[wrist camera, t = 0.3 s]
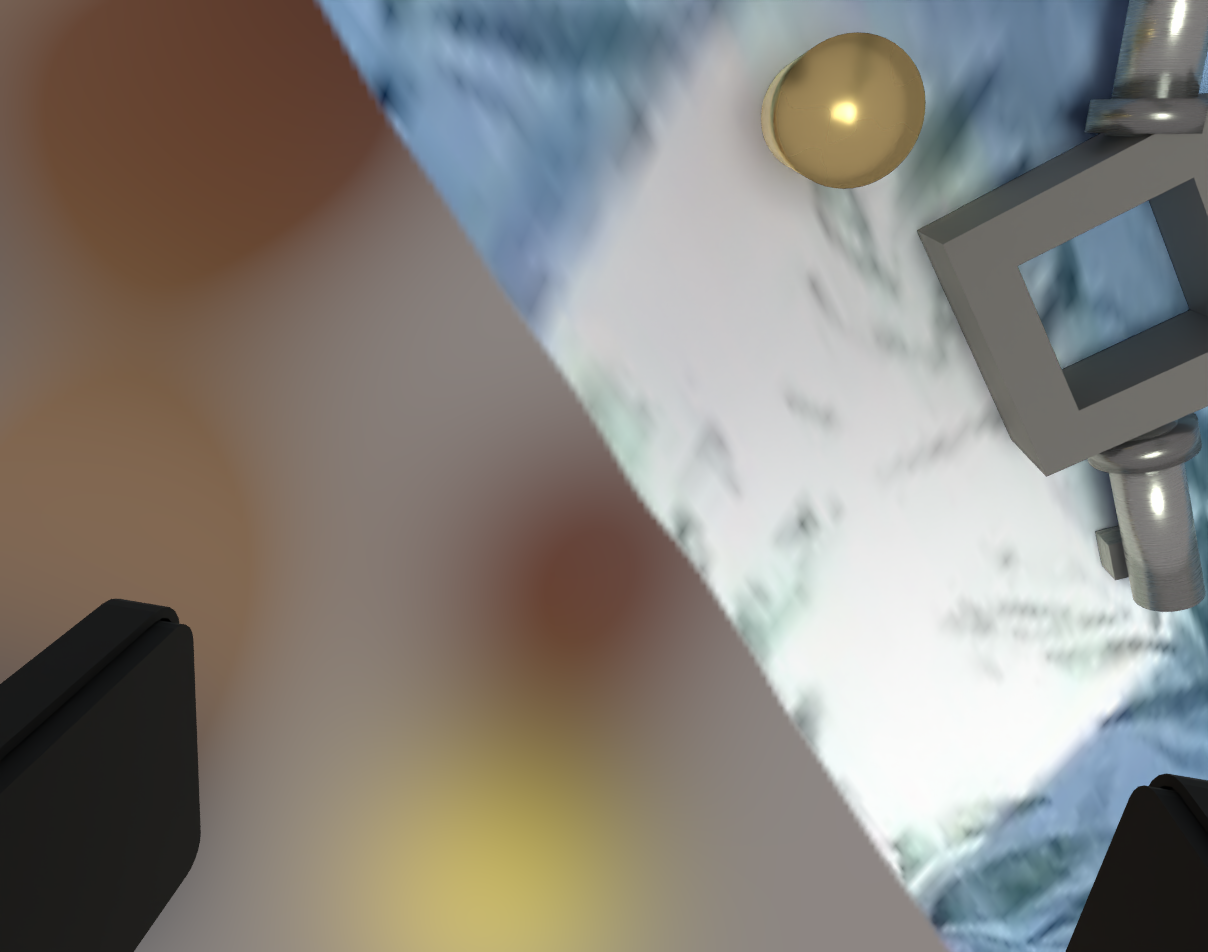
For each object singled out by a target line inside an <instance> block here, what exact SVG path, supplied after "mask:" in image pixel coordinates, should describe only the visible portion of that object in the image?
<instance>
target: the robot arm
mask: <svg viewBox="0 0 1208 952" xmlns="http://www.w3.org/2000/svg"><path fill="white" fill-rule="evenodd" d="M193 647H194V646H193V635H192V631H191V629H190V627H188V626H187V625H184V624H179V619H178V616H177V614H176V612H175V611H174V610H173V609H171V608H170V607H165V606H159V605H153V604H147V603H141V602H135V601H129V600H123V599H111V600H109V601H107V602H105V603H103V604H102V605H101V606H99V607H98V608H97V609H96V610H94V611H93V612H92V613H90V614H89V615H88V616H87V617H85V618H84V619H83V620H82V621H80V622H79V623H78V624H76V625H75V626H74V627H73V628H71V629H70V630H69V631H67V632H66V633H65V634H64V635H62V636H61V637H60V638H59V639H57V640H56V641H55V642H53V643H52V644H51V645H50V646H48V647H47V648H46V649H45V650H43V651H42V652H41V653H39V654H38V655H37V656H36V657H34V658H33V659H32V660H30V661H29V662H28V663H27V664H25V665H24V666H23V667H22V668H20V669H19V670H18V671H16V672H15V673H14V674H13V675H12V676H10V677H9V678H8V679H6V680H5V681H4V682H3V683H1V684H0V952H134V950H135V949H136V947H137V946H138V945H139V943H140V942H141V940H142V939H143V938H144V936H145V935H146V933H147V932H148V930H149V929H150V927H151V926H152V925H153V923H154V922H155V920H156V919H157V917H158V916H159V914H160V913H161V912H162V910H163V909H164V907H165V906H166V904H167V903H168V902H169V900H170V899H171V897H172V896H173V894H174V893H175V891H176V890H177V888H178V887H179V886H180V884H181V883H182V881H183V880H184V878H185V877H186V876H187V874H188V872H189V871H190V869H191V867H192V865H193V862H194V860H195V858H196V854H197V851H198V847H199V843H200V833H201V832H200V804H199V779H198V753H197V726H196V702H195V701H196V699H195V673H194V648H193ZM1066 952H1208V780H1202V779H1196V778H1190V777H1184V776H1178V775H1172V774H1163V775H1159V776H1157V777H1156V778H1155V779H1154V780H1152V782H1151V783H1150V785H1149V786H1139V787H1138V788H1136V789H1135V790H1134V791H1133V793H1132V794H1131V796H1130V798H1129V800H1128V803H1127V805H1126V807H1125V810H1124V812H1123V815H1122V817H1121V819H1120V822H1119V824H1118V827H1117V829H1116V831H1115V834H1114V836H1113V839H1112V841H1111V844H1110V846H1109V848H1108V851H1107V853H1106V856H1105V858H1104V860H1103V863H1102V865H1101V868H1100V870H1099V872H1098V875H1097V877H1096V880H1095V882H1094V884H1093V887H1092V889H1091V892H1090V894H1089V896H1088V899H1087V901H1086V904H1085V906H1084V908H1083V911H1082V913H1081V916H1080V918H1079V920H1078V923H1077V925H1076V928H1075V930H1074V933H1073V935H1072V937H1071V940H1070V942H1069V945H1068V947H1067V949H1066Z"/></svg>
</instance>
